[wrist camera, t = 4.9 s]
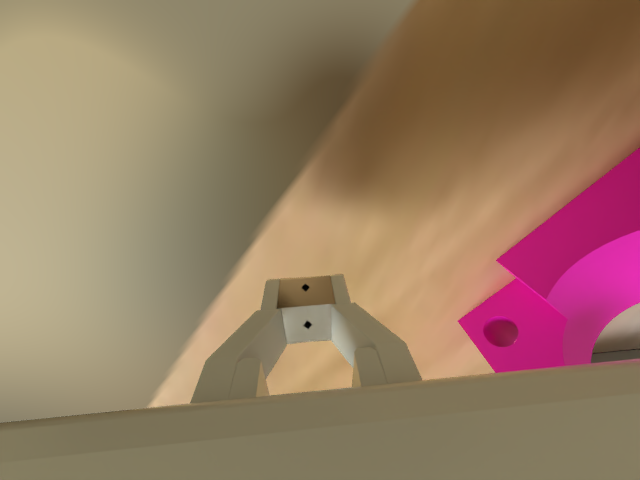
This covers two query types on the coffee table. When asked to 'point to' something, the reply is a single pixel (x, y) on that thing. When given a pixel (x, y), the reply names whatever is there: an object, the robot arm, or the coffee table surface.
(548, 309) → the magenta curved bracket
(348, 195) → the coffee table surface
